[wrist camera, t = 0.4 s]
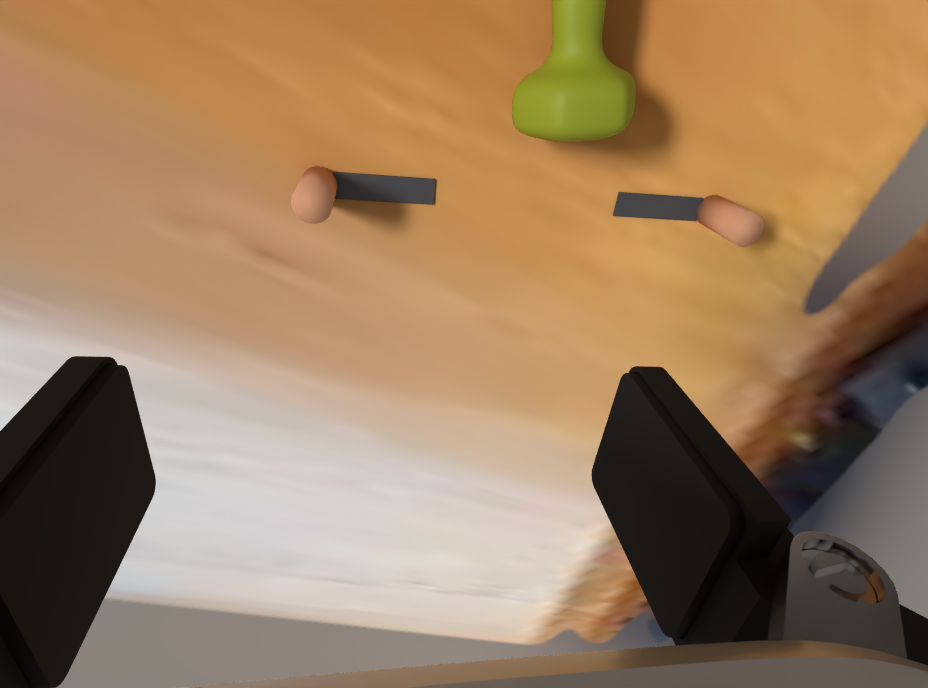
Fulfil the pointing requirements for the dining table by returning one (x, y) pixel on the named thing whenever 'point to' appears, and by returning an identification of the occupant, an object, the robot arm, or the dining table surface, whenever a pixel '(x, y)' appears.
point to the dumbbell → (575, 82)
